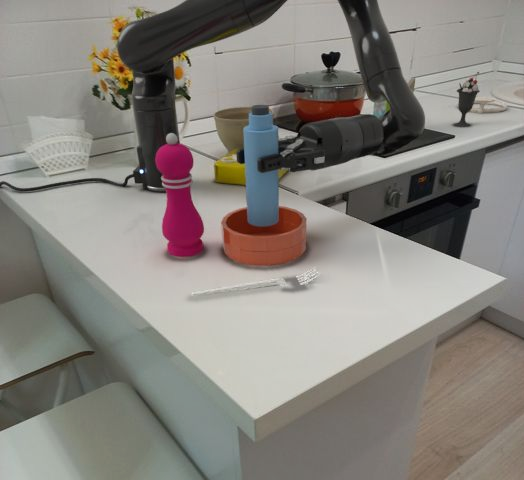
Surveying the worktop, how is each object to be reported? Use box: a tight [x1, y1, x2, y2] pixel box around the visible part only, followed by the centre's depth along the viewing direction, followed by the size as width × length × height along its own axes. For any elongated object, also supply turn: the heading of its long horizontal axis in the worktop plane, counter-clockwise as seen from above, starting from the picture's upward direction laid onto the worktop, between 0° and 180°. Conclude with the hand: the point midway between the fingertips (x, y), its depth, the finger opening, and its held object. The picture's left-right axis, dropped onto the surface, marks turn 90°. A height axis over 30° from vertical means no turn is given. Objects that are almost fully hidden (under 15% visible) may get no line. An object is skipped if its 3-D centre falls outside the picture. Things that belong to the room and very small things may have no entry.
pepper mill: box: [155, 133, 205, 258], centre depth 83 cm, size 7×7×20 cm
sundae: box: [453, 71, 481, 128], centre depth 156 cm, size 7×7×15 cm
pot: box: [220, 205, 308, 267], centre depth 87 cm, size 15×15×6 cm
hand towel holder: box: [469, 96, 508, 114], centre depth 178 cm, size 17×4×21 cm
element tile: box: [213, 149, 289, 186], centre depth 122 cm, size 15×15×5 cm
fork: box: [191, 266, 321, 297], centre depth 77 cm, size 3×20×2 cm, turn 103°
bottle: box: [243, 104, 280, 227], centre depth 81 cm, size 5×5×18 cm
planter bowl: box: [213, 106, 275, 153], centre depth 136 cm, size 16×16×11 cm
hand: (248, 161), depth 79 cm, fingers closed on bottle, 5 cm apart
